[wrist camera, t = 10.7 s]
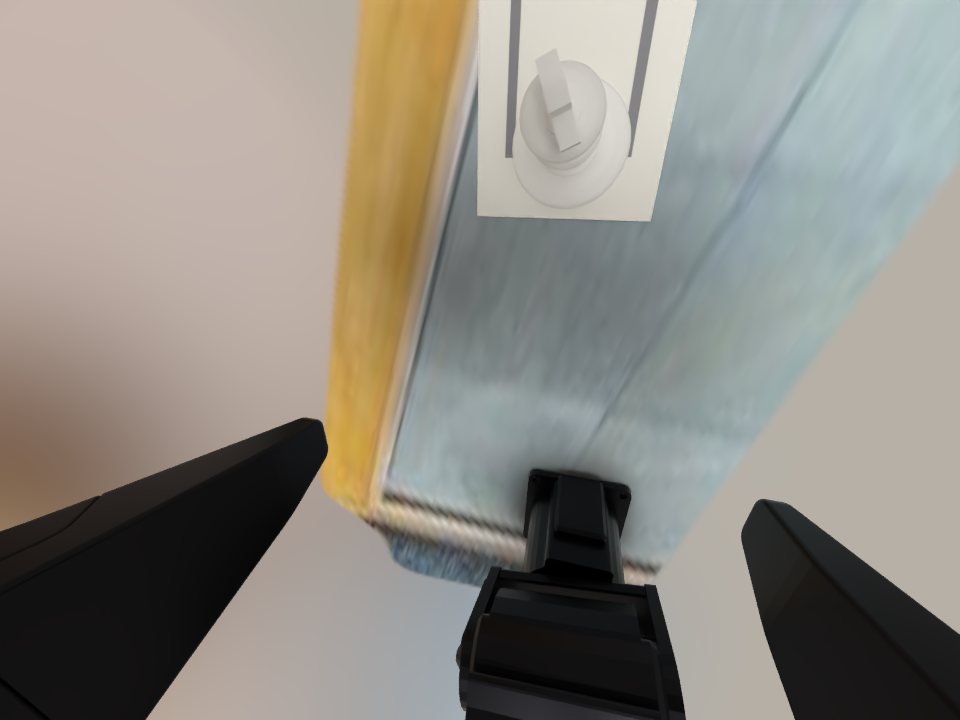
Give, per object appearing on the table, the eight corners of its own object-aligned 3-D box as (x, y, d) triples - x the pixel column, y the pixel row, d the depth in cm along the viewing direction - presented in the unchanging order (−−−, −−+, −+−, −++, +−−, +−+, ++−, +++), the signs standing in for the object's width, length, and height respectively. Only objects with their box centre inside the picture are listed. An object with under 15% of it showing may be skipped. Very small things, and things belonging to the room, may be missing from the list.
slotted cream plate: (649, 220, 16) (650, 221, 16) (479, 215, 18) (477, 215, 17) (717, -104, 12) (721, -114, 11) (481, -69, 13) (478, -77, 13)
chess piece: (614, 48, 14) (677, -199, 5) (642, 181, 15) (728, 174, 6) (497, 113, 15) (390, 18, 7) (533, 225, 17) (485, 266, 8)
